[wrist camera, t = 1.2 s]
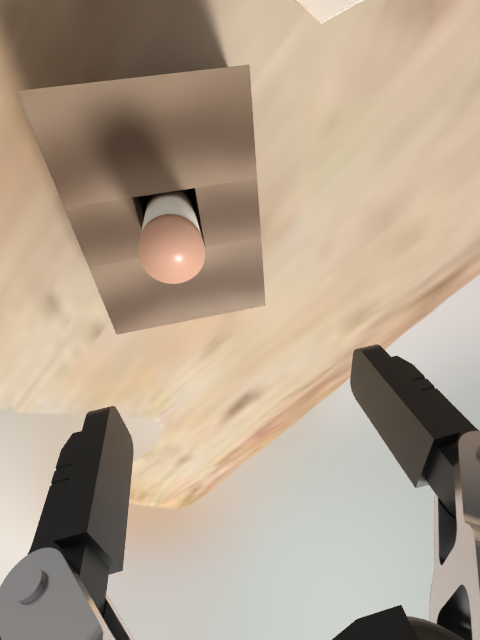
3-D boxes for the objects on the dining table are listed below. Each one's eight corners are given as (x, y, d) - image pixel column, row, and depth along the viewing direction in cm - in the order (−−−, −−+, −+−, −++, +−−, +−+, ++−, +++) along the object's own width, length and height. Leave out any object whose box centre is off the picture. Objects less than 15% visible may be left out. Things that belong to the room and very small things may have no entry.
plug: (142, 183, 28) (129, 227, 18) (186, 177, 29) (199, 215, 18) (154, 227, 31) (148, 289, 20) (194, 220, 31) (210, 277, 20)
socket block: (52, 95, 24) (16, 90, 18) (230, 75, 26) (249, 64, 20) (124, 297, 34) (116, 334, 29) (249, 274, 36) (265, 305, 30)
